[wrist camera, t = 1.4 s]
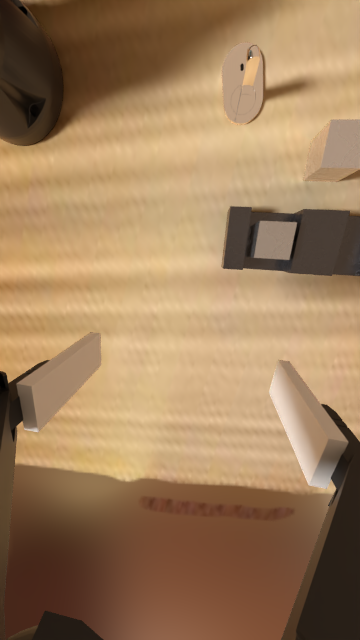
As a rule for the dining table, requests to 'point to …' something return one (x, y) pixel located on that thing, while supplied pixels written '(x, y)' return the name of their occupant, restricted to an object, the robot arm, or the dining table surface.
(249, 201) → the dining table surface
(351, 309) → the dining table surface
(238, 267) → the rail
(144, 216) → the dining table surface
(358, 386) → the dining table surface
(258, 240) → the light grey cube
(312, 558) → the robot arm
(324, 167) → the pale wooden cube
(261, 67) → the stand
